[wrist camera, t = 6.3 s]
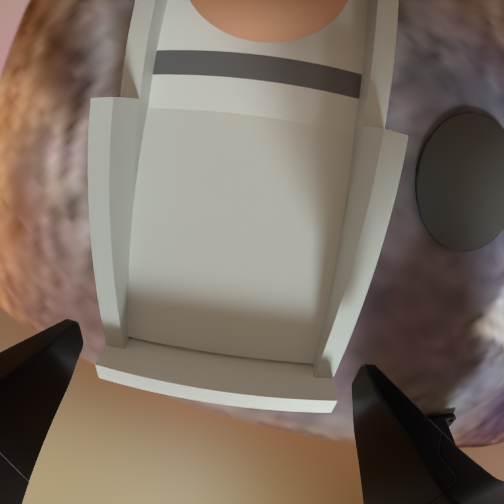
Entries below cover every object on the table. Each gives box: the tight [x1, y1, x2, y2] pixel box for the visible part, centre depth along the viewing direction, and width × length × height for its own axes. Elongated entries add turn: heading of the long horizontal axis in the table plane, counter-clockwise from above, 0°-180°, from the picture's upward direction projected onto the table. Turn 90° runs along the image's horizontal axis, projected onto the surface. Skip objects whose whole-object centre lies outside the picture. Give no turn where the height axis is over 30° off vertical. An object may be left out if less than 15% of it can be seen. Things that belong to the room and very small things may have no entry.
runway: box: [88, 0, 409, 413], centre depth 9 cm, size 18×9×6 cm, turn 173°
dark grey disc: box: [416, 113, 504, 251], centre depth 12 cm, size 7×7×1 cm
